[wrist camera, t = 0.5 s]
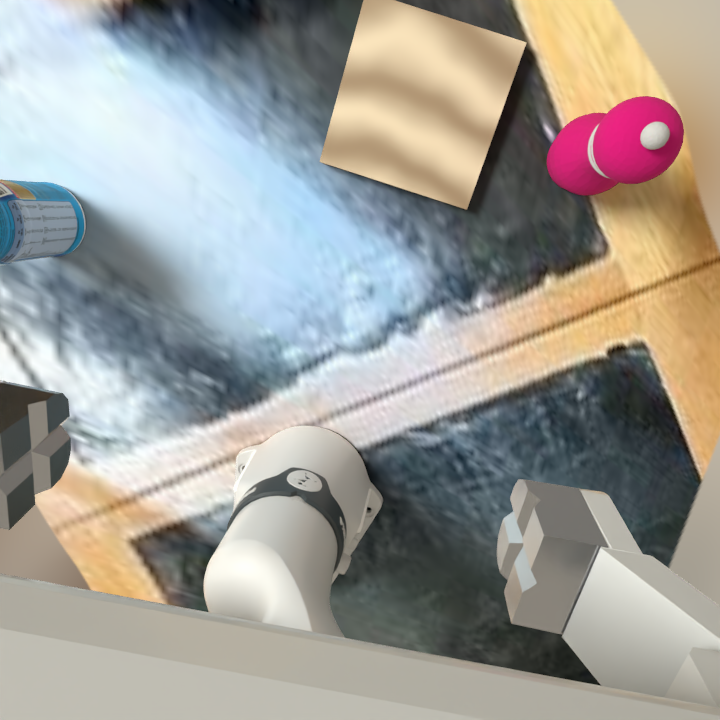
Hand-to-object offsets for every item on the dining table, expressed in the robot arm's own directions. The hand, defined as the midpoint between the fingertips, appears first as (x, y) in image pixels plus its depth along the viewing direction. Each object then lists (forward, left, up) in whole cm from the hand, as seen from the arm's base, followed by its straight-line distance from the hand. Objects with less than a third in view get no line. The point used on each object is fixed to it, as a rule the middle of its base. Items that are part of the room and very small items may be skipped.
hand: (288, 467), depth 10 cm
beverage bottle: (-9, +39, -53) cm, 66 cm away
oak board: (+14, +3, -52) cm, 54 cm away
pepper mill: (+14, -14, -53) cm, 56 cm away
